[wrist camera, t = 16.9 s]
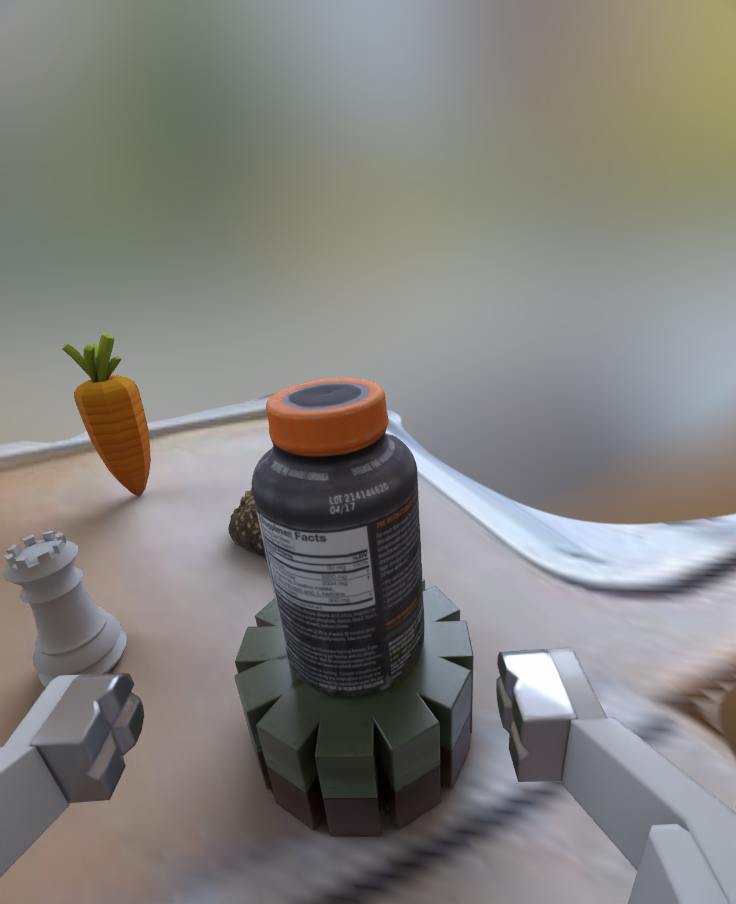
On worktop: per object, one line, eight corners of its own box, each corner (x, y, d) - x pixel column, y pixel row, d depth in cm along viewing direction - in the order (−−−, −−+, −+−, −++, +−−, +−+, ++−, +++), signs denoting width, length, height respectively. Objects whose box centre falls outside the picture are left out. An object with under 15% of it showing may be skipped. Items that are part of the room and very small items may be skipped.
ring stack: (300, 897, 16) (278, 817, 14) (234, 684, 25) (214, 614, 23) (517, 751, 20) (524, 672, 18) (398, 609, 29) (394, 544, 27)
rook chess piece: (38, 657, 27) (-20, 543, 24) (121, 619, 30) (78, 511, 26) (44, 712, 24) (-22, 588, 21) (137, 664, 26) (91, 546, 23)
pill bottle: (373, 577, 24) (353, 359, 19) (454, 650, 20) (454, 388, 15) (264, 633, 21) (211, 392, 17) (330, 734, 17) (282, 441, 12)
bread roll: (209, 546, 36) (194, 490, 34) (298, 474, 46) (291, 427, 44) (357, 587, 31) (350, 522, 29) (422, 495, 41) (420, 443, 38)
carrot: (98, 505, 43) (38, 342, 37) (139, 480, 48) (91, 330, 41) (140, 511, 42) (85, 342, 36) (178, 485, 46) (134, 329, 40)
